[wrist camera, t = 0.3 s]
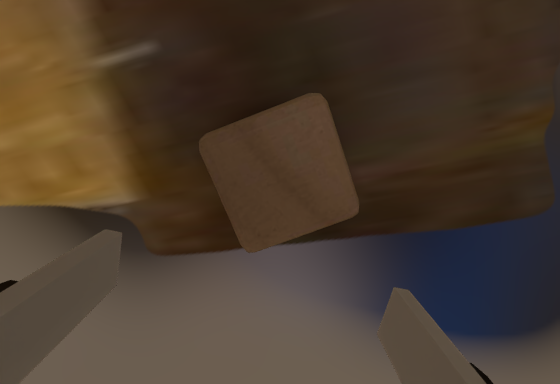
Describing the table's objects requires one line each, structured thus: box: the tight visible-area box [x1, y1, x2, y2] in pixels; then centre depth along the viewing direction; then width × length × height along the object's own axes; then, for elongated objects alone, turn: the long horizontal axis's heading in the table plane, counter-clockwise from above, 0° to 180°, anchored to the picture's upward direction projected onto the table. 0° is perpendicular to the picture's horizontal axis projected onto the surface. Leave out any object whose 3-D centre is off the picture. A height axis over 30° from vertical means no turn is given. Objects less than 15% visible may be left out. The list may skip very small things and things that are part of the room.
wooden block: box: [199, 93, 359, 253], centre depth 29 cm, size 10×10×20 cm
